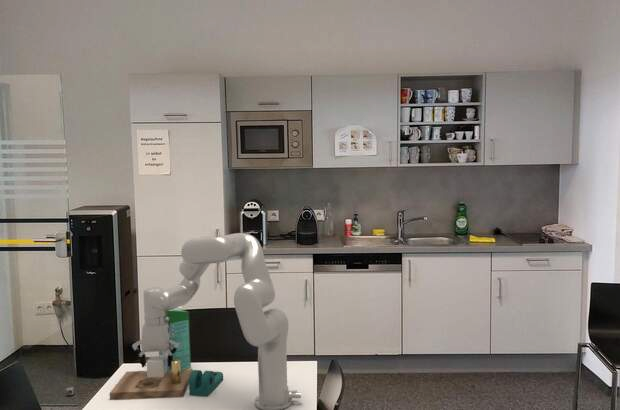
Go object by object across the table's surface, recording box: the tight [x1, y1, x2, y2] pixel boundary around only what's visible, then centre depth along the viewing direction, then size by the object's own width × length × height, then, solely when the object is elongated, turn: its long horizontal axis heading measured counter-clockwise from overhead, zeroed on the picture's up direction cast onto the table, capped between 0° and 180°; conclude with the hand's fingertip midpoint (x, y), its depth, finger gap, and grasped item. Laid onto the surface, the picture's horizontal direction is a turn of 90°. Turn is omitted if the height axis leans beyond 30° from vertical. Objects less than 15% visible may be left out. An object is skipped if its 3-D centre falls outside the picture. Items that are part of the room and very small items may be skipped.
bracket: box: [188, 369, 224, 398], centre depth 198 cm, size 18×7×8 cm, turn 169°
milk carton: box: [158, 306, 192, 370], centre depth 217 cm, size 9×9×25 cm
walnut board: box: [109, 368, 193, 401], centre depth 198 cm, size 25×20×2 cm
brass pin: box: [172, 359, 181, 384], centre depth 195 cm, size 3×3×8 cm
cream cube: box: [146, 355, 167, 378], centre depth 204 cm, size 6×6×6 cm
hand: (156, 365), depth 204 cm, fingers open, 9 cm apart
